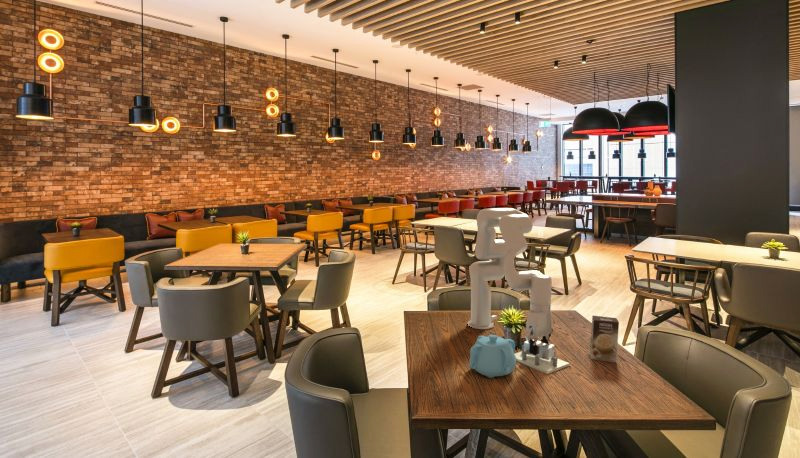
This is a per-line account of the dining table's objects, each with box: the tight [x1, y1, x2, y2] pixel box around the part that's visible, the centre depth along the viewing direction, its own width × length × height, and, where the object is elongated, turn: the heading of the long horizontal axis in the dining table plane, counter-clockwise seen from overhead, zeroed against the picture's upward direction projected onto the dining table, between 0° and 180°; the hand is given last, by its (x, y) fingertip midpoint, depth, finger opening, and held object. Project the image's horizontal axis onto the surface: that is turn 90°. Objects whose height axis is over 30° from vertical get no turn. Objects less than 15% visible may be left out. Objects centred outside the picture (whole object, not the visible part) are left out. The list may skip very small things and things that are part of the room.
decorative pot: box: [468, 334, 517, 379], centre depth 159 cm, size 16×16×14 cm
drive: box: [523, 338, 555, 360], centre depth 168 cm, size 5×10×4 cm, turn 47°
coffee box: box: [589, 315, 620, 363], centre depth 171 cm, size 9×6×16 cm
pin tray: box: [514, 344, 570, 375], centre depth 168 cm, size 13×18×4 cm
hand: (538, 351), depth 168 cm, fingers closed on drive, 5 cm apart
